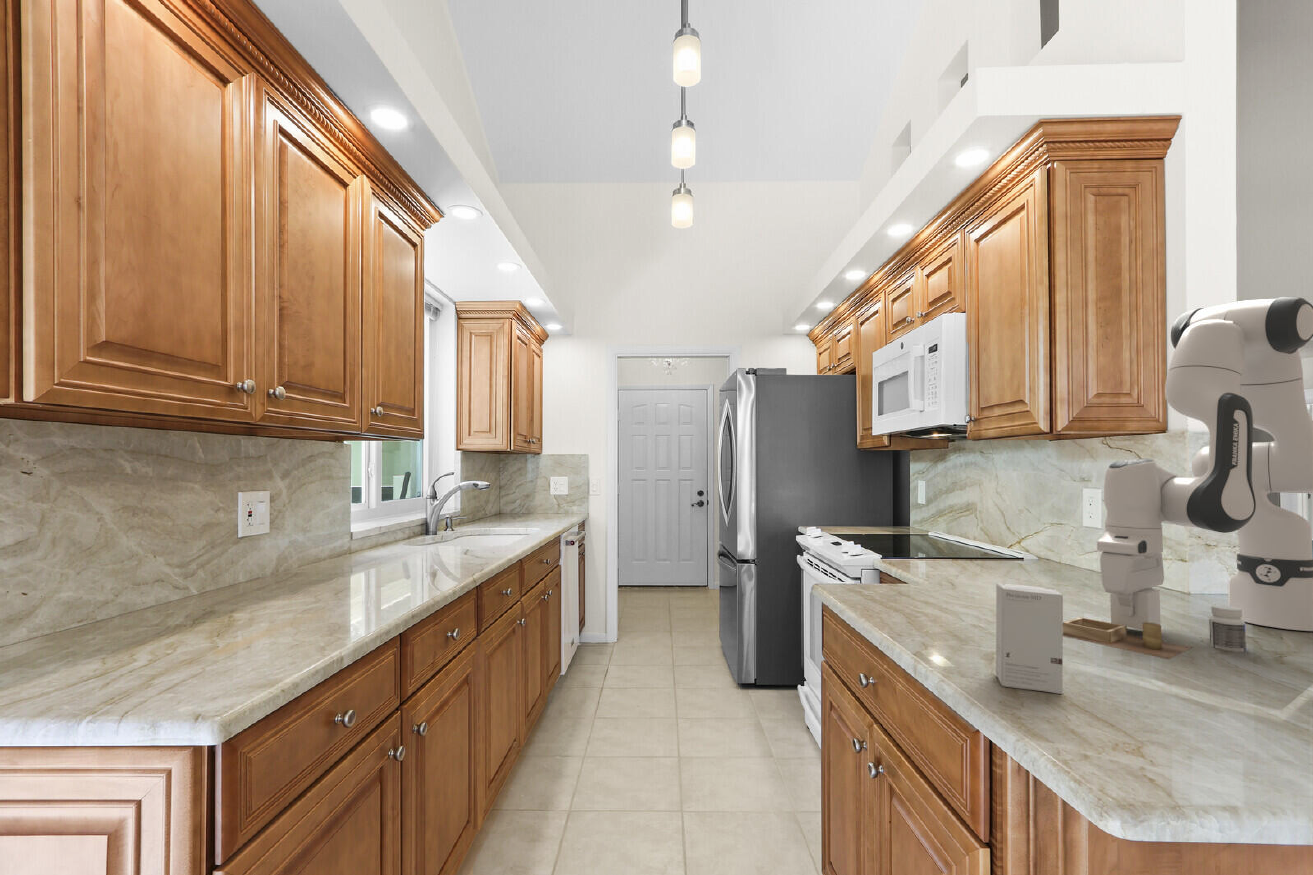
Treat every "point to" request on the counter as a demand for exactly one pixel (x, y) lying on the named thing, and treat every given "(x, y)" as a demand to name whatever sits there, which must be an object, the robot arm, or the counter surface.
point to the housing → (1138, 609)
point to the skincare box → (1029, 637)
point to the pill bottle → (1227, 628)
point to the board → (1123, 637)
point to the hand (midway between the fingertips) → (1135, 612)
